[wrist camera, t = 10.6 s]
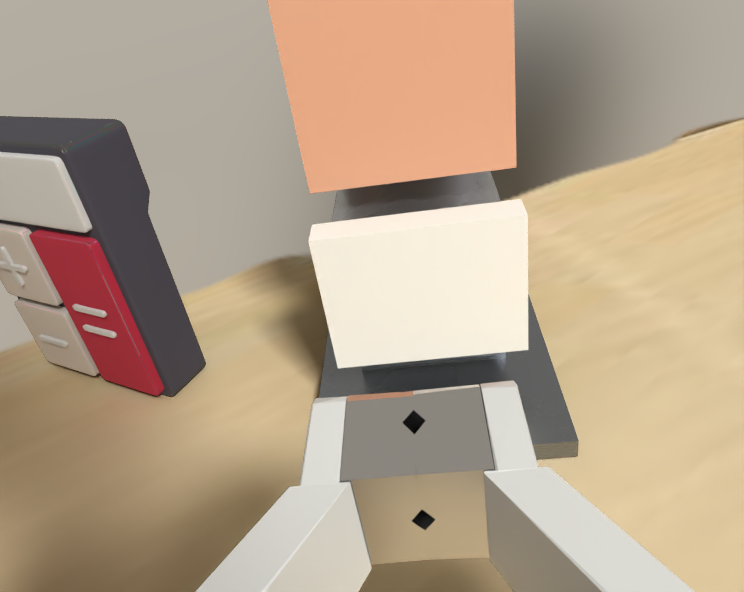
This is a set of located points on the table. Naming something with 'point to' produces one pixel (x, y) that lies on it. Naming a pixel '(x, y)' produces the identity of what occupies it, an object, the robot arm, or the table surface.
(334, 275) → the cream stepped block
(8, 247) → the dark rectangular slab
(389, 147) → the orange plunger
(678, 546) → the table surface
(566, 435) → the press rig
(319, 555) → the robot arm
